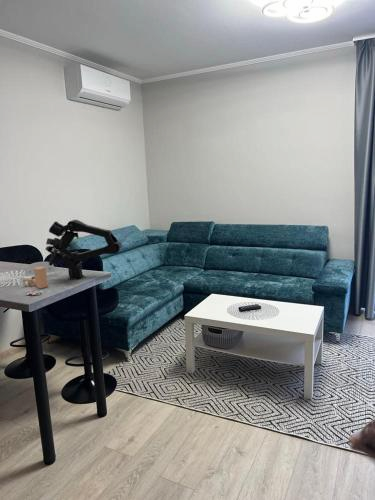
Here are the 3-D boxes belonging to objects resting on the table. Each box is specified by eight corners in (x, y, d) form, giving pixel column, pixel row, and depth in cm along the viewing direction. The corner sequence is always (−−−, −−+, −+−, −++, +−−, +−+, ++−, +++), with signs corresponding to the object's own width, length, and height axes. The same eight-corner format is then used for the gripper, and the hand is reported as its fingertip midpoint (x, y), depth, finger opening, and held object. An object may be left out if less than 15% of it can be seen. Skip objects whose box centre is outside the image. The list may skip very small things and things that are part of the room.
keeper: (33, 285, 193) (32, 276, 192) (31, 286, 191) (29, 277, 190) (22, 285, 195) (21, 276, 194) (20, 286, 193) (18, 277, 192)
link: (27, 284, 195) (24, 266, 193) (36, 282, 199) (33, 264, 197) (39, 288, 186) (36, 269, 184) (48, 286, 189) (46, 267, 187)
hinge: (25, 281, 204) (22, 263, 205) (25, 282, 208) (23, 264, 210) (56, 276, 211) (54, 259, 212) (56, 277, 215) (53, 260, 216)
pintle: (42, 282, 198) (41, 275, 197) (35, 286, 192) (34, 278, 191) (32, 282, 199) (31, 275, 198) (25, 286, 193) (24, 278, 193)
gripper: (46, 231, 199) (29, 255, 193) (63, 232, 186) (46, 258, 181) (61, 242, 206) (46, 266, 200) (79, 245, 193) (63, 270, 188)
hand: (49, 265), depth 192 cm, fingers closed
